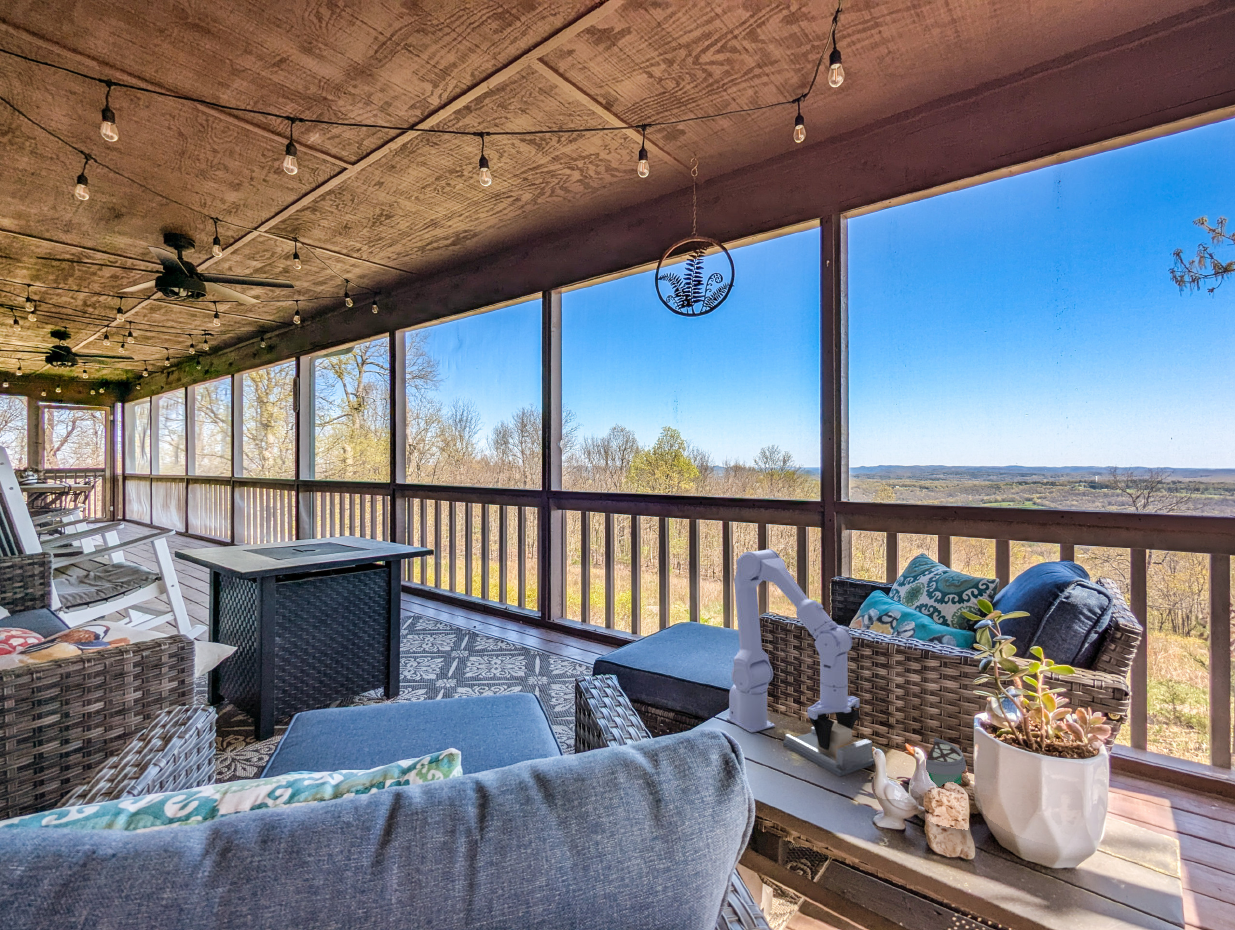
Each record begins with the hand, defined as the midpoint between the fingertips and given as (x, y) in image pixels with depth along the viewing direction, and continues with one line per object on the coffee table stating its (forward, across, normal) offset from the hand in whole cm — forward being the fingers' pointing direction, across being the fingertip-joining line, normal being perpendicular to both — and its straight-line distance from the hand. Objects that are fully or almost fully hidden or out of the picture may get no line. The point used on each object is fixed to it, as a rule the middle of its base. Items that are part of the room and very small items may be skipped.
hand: (834, 744), depth 127 cm
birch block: (+2, 0, 0) cm, 2 cm away
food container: (+3, +4, -23) cm, 24 cm away
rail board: (+3, 0, +2) cm, 3 cm away
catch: (+2, 0, -4) cm, 4 cm away
